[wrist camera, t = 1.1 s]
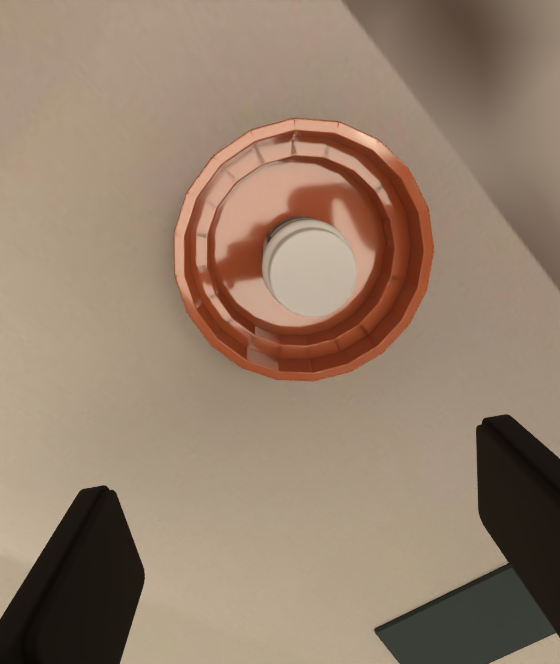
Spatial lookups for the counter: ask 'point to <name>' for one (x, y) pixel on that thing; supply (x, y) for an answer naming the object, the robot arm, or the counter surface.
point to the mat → (469, 624)
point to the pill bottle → (308, 266)
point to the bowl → (316, 202)
